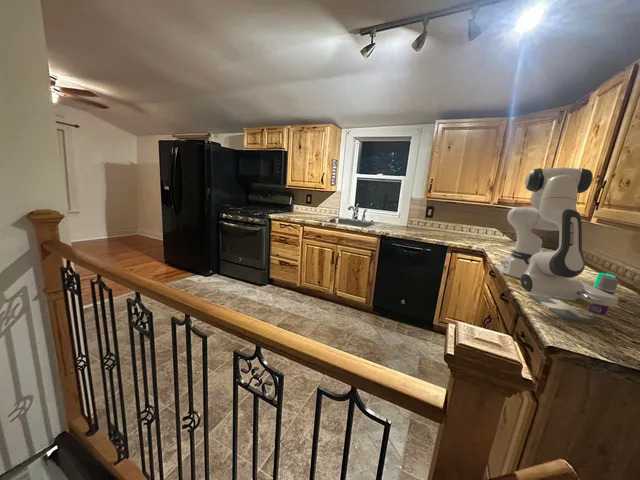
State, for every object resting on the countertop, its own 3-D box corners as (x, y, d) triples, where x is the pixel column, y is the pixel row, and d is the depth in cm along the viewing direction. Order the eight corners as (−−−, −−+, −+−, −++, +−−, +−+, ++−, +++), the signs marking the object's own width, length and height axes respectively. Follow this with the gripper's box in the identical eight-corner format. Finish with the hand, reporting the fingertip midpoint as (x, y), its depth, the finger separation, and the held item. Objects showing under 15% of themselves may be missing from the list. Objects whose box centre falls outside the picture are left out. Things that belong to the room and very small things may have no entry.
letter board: (528, 296, 116) (529, 294, 116) (557, 300, 114) (558, 298, 114) (562, 319, 97) (563, 316, 96) (597, 324, 95) (598, 321, 95)
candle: (596, 294, 127) (605, 272, 124) (588, 290, 132) (596, 268, 130) (611, 297, 125) (620, 274, 122) (602, 292, 131) (611, 270, 128)
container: (608, 316, 99) (623, 281, 95) (594, 314, 99) (608, 279, 96) (598, 311, 103) (612, 276, 99) (585, 308, 104) (598, 275, 100)
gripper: (594, 291, 90) (638, 297, 88) (551, 271, 110) (587, 276, 108) (588, 307, 91) (631, 313, 90) (547, 285, 111) (582, 289, 109)
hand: (607, 293), depth 99 cm, fingers closed on container, 5 cm apart
